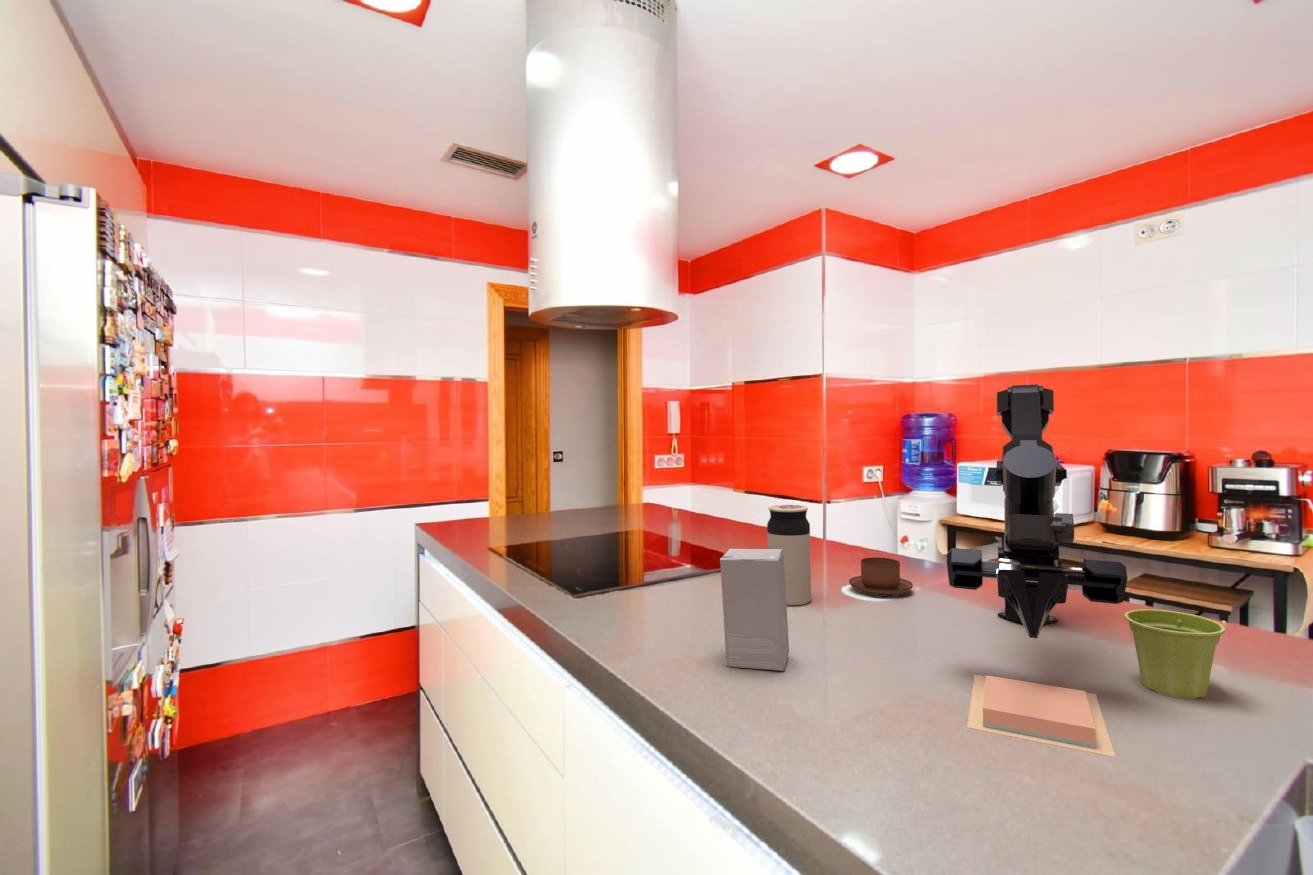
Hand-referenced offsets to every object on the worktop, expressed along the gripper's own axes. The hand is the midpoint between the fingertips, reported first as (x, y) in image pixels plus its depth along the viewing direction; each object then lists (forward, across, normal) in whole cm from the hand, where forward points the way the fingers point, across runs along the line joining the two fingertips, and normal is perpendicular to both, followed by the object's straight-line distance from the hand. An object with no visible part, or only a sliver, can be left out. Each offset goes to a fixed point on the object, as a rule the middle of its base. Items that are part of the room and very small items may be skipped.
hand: (1033, 636), depth 72 cm
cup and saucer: (-26, -25, +38) cm, 52 cm away
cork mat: (+7, 0, +5) cm, 8 cm away
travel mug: (-16, -39, +28) cm, 50 cm away
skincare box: (+7, -34, +5) cm, 35 cm away
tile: (+4, 0, +6) cm, 7 cm away
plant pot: (-3, +15, +15) cm, 22 cm away
